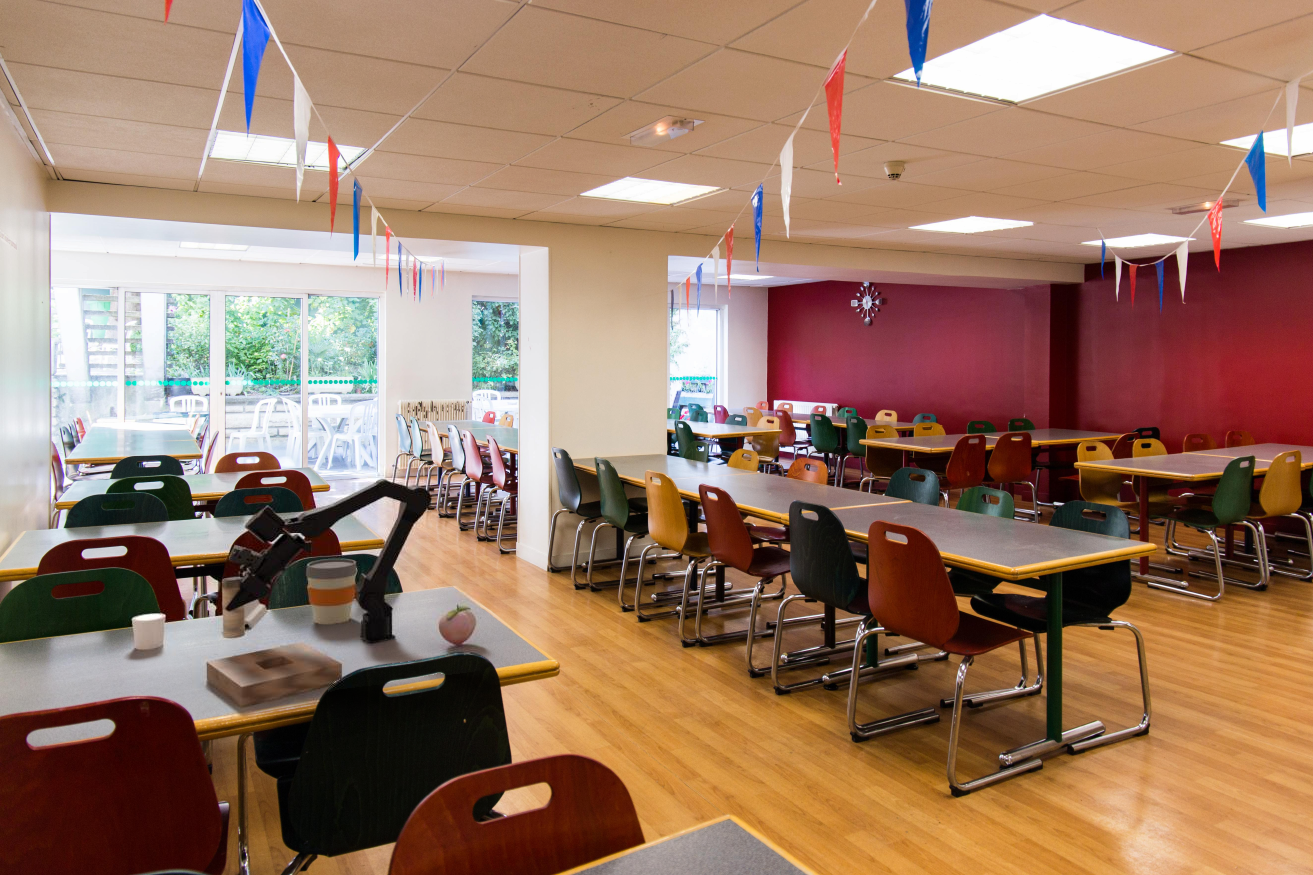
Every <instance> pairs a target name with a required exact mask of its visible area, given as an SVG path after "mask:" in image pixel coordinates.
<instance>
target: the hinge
mask: <svg viewBox="0 0 1313 875" xmlns="http://www.w3.org/2000/svg"><path fill="white" fill-rule="evenodd" d="M221 605H222V606H221V607H223V601H222V603H221ZM266 611H267V612H268V610H267V607H266V604H263V603H260V600H259V599H257V600H255V601H252V602H250V603H248V604H245V605H244V619H245V625H248V627H249V628H250V629H253V628H254V627H255V626H256V625H257V623H258V622H259V621H260V620H261V619H262V618H263V617H264V616H265V615H266V614H267V612H266Z"/></svg>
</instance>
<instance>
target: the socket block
mask: <svg viewBox="0 0 1313 875" xmlns="http://www.w3.org/2000/svg"><path fill="white" fill-rule="evenodd" d="M341 678H342V679H343V663H342V662H339V661H338V660H336V659H334V658H332V657H330V656H328V655H327V654H324V653H323V652H321V651H319V650H318V649H316V648H313V647H312V646H311V645H308V644H306V643H304V642H303V641H301V642H297V643H296V642H295V643H291V644H286V645H281V646H277V647H272V648H267V649H263V650H257V651H254V652H253V651H252V652H247V653H243V654H238V655H237V654H236V655H232V656H228V657H223V658H218V659H213V660H208V661H206V681H207V682H208V683H210V684H211V685H212V686H214V687H215V688H216V689H218V690H219V691H220V692H221V693H222V694H224V695H225V696H226V697H228V698H229V699H231V700H232V701H233V702H235V704H237V705H239V706H240V707H241V708H244V707H248V706H251V705H256V704H261V703H264V702H268V701H273V700H277V699H280V698H284V697H287V696H288V697H289V696H293V695H297V694H300V693H304V692H309V691H313V690H317V689H320V688H324V687H329V685H330V686H332V685H331V684H333V683H334V682H335V681H337V680H339V679H341Z"/></svg>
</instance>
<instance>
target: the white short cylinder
mask: <svg viewBox="0 0 1313 875" xmlns="http://www.w3.org/2000/svg"><path fill="white" fill-rule="evenodd" d="M131 622H132V624H131V625H132V631H133V639H134V644H135V649H136V650H142V651H143V650H147V651H148V650H154V649H157V648H161V647H163V646H164V640H165V638H164V637H165V629H166V628H165V625H166V614H164V613H157V612H156V613H145V614H139V615H136V616H133V617H132V618H131Z"/></svg>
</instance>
